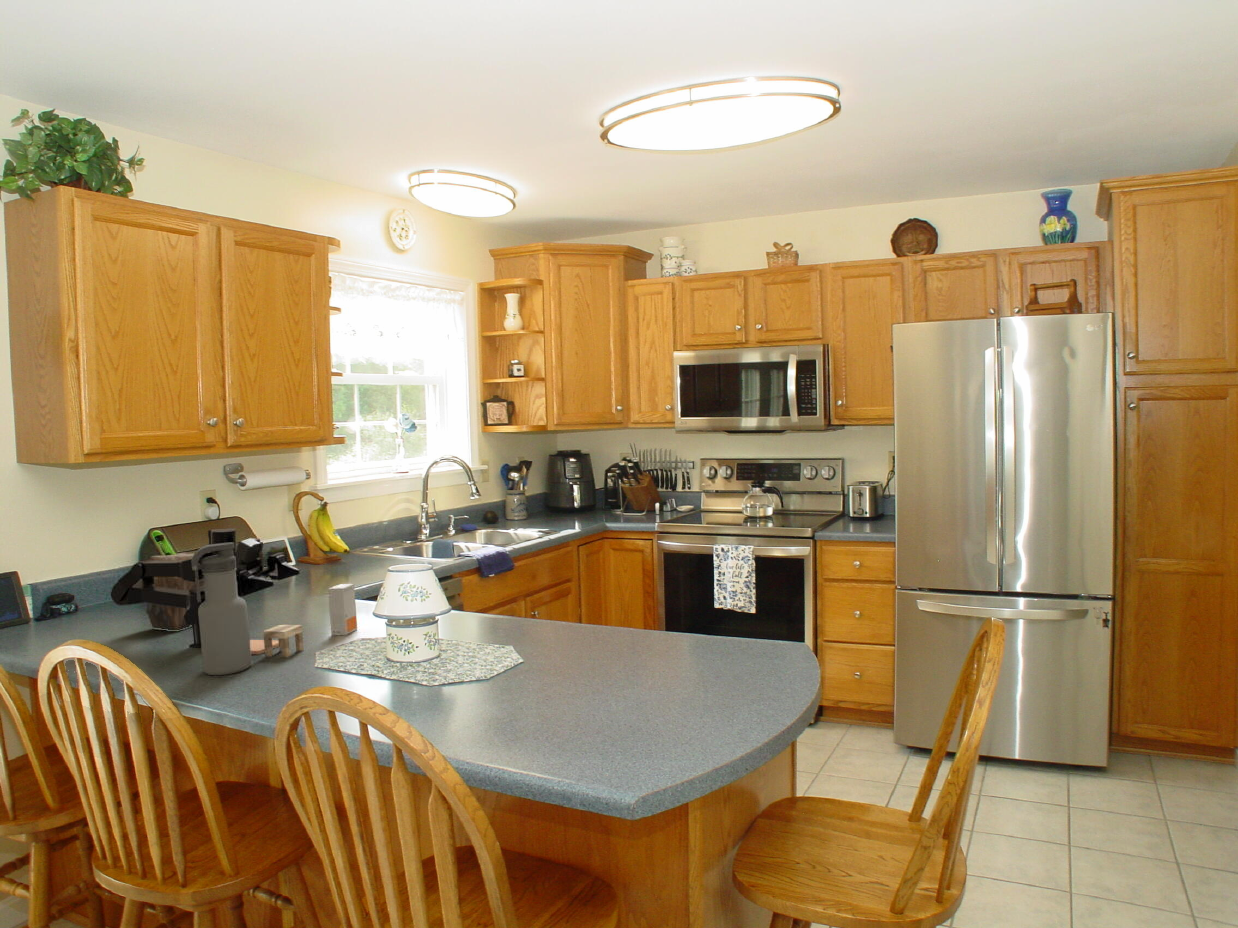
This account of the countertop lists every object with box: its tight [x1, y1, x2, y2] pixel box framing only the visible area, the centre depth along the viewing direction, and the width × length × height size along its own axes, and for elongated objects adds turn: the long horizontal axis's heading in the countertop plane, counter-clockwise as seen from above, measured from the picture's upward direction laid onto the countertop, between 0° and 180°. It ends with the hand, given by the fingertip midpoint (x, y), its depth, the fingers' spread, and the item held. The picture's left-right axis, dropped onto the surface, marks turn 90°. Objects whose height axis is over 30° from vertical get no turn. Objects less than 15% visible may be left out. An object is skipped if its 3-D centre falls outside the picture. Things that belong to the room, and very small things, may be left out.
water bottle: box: [192, 542, 252, 676], centre depth 192 cm, size 10×10×28 cm
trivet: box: [250, 639, 279, 655], centre depth 210 cm, size 10×9×1 cm
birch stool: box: [262, 624, 305, 658], centre depth 203 cm, size 6×6×6 cm
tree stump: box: [145, 551, 204, 630], centre depth 240 cm, size 13×13×20 cm
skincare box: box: [327, 583, 358, 636], centre depth 220 cm, size 6×4×12 cm
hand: (286, 577), depth 208 cm, fingers open, 9 cm apart
